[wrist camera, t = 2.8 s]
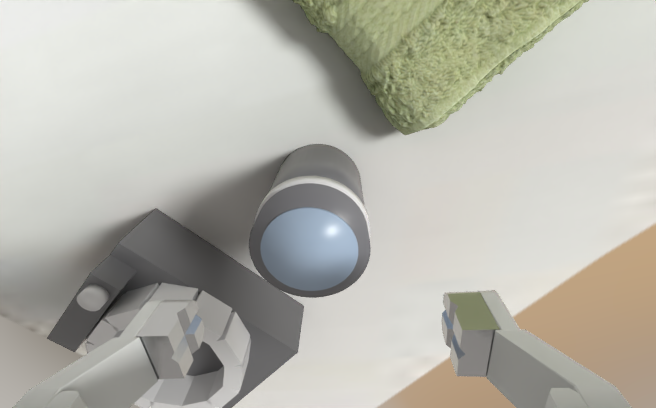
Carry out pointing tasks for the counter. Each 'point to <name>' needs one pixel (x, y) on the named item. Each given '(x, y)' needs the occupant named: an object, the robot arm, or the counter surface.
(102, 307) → the camera body
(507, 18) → the washcloth
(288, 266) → the lens
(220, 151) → the counter surface
